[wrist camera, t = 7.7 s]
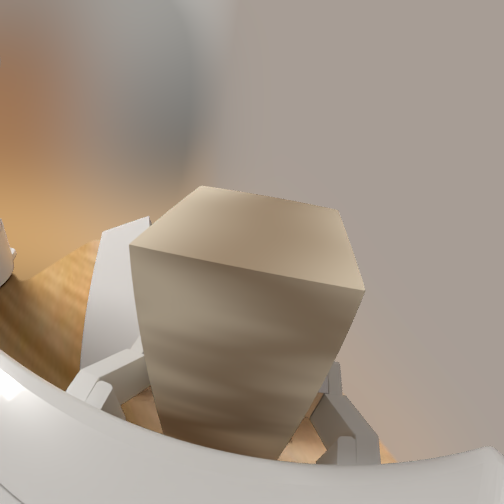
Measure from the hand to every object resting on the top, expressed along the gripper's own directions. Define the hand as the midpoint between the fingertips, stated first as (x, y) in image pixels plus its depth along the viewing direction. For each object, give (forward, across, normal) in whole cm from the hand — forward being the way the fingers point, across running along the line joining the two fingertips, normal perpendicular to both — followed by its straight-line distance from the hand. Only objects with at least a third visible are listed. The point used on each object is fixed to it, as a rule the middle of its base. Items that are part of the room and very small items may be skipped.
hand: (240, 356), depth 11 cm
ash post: (-1, 0, -7) cm, 7 cm away
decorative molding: (+22, -20, -18) cm, 34 cm away
